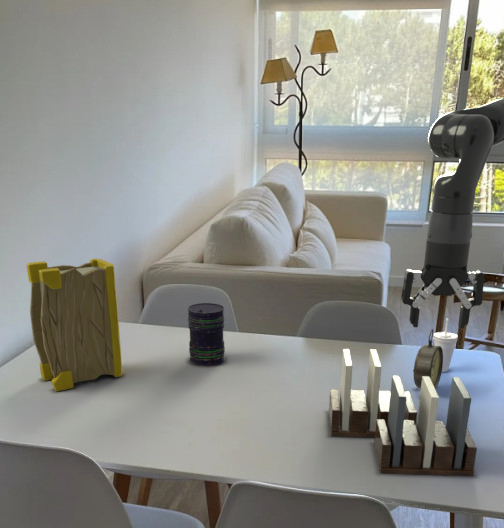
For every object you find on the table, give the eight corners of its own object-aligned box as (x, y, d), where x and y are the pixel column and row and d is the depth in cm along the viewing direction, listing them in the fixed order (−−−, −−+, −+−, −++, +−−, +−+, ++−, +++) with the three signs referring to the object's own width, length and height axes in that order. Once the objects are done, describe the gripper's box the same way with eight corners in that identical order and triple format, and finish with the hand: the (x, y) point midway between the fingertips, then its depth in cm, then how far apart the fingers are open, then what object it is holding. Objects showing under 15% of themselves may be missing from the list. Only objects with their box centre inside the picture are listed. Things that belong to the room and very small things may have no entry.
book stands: (445, 415, 164) (448, 391, 161) (473, 476, 138) (477, 448, 135) (328, 412, 165) (330, 388, 162) (334, 471, 139) (336, 444, 136)
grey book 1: (392, 442, 149) (399, 375, 142) (399, 467, 139) (406, 396, 132) (385, 442, 149) (392, 375, 142) (392, 466, 139) (399, 396, 132)
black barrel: (200, 352, 203) (198, 301, 196) (230, 357, 199) (230, 305, 193) (183, 363, 195) (180, 310, 188) (214, 368, 191) (213, 314, 184)
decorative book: (109, 364, 193) (99, 253, 180) (126, 376, 185) (117, 261, 172) (37, 379, 183) (21, 263, 170) (52, 393, 175) (36, 272, 162)
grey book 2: (450, 443, 148) (459, 377, 142) (461, 469, 138) (471, 398, 132) (443, 443, 148) (452, 376, 142) (453, 468, 138) (463, 398, 132)
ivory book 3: (421, 443, 148) (429, 376, 142) (430, 468, 138) (439, 397, 132) (414, 442, 148) (422, 376, 142) (422, 467, 139) (431, 397, 132)
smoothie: (453, 366, 193) (459, 316, 187) (453, 374, 187) (460, 323, 181) (429, 364, 194) (435, 315, 188) (429, 372, 189) (435, 321, 183)
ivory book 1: (345, 410, 164) (349, 348, 157) (348, 430, 154) (352, 365, 147) (339, 410, 164) (342, 348, 157) (341, 430, 154) (345, 365, 147)
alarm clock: (428, 400, 171) (436, 336, 164) (407, 396, 174) (413, 333, 167) (441, 386, 180) (449, 324, 173) (420, 382, 182) (427, 321, 175)
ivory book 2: (371, 411, 163) (376, 349, 157) (375, 431, 153) (381, 366, 147) (365, 411, 163) (370, 349, 157) (369, 431, 153) (374, 366, 147)
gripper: (484, 234, 128) (472, 321, 135) (405, 233, 128) (396, 320, 135) (494, 242, 121) (481, 333, 128) (411, 241, 122) (401, 331, 129)
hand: (437, 326), depth 132 cm, fingers open, 8 cm apart
